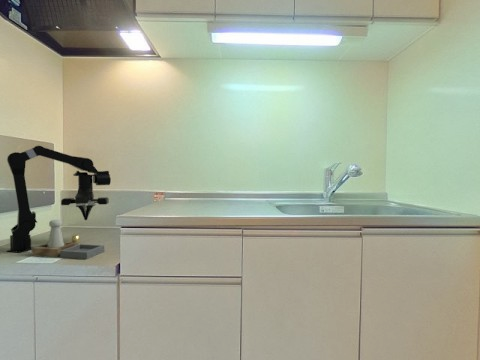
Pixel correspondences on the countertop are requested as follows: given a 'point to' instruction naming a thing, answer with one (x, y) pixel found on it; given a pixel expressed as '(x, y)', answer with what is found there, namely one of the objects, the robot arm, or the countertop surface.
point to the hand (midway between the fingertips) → (86, 220)
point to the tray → (82, 251)
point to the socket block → (50, 250)
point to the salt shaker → (55, 234)
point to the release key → (75, 238)
